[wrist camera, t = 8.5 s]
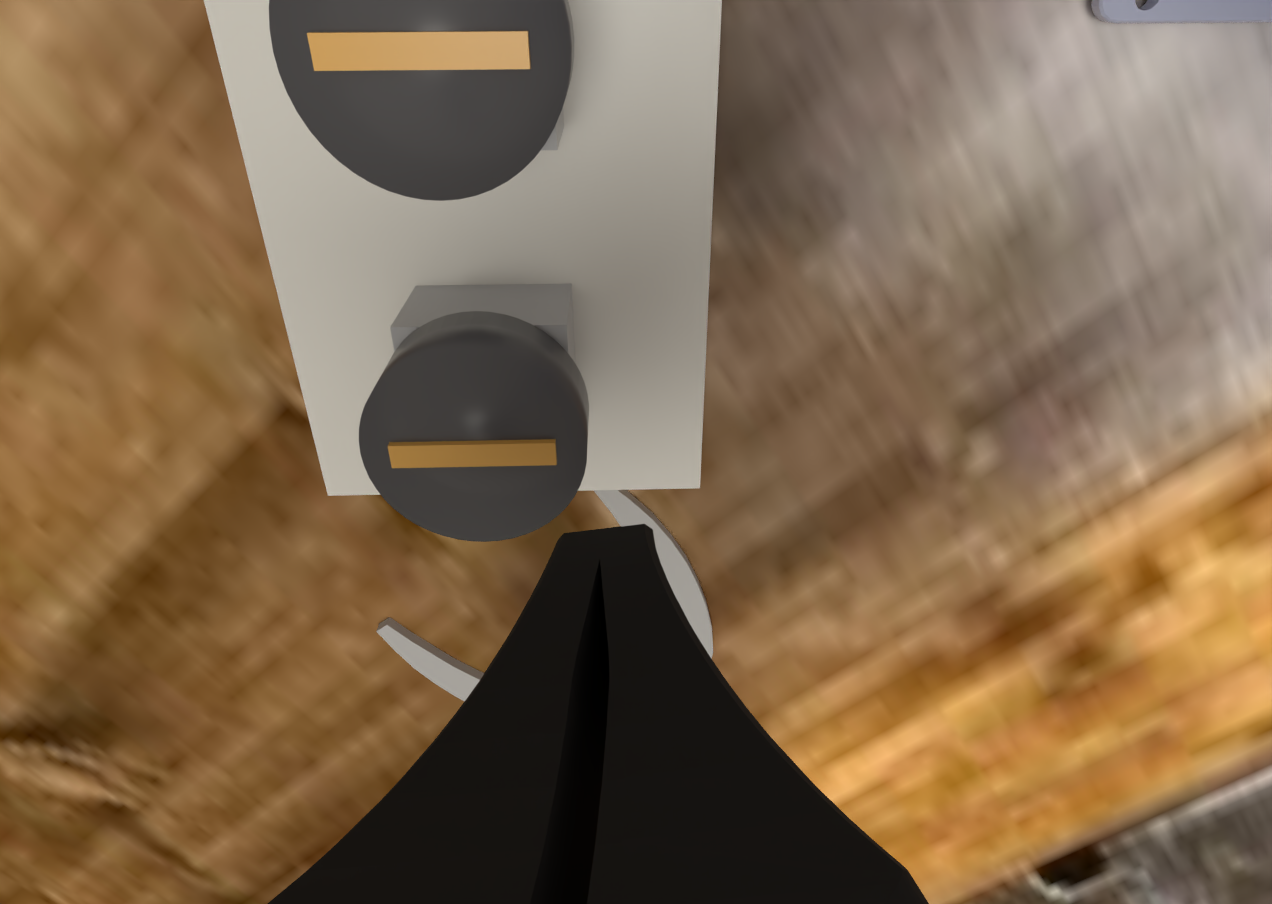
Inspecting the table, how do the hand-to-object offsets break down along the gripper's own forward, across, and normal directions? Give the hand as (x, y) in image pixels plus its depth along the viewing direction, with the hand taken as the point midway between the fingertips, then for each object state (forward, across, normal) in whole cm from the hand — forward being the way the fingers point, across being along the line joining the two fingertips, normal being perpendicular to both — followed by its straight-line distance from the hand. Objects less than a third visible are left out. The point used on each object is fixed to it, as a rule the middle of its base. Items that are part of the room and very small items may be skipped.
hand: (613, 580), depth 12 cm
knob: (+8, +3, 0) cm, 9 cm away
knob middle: (+8, +2, -7) cm, 11 cm away
